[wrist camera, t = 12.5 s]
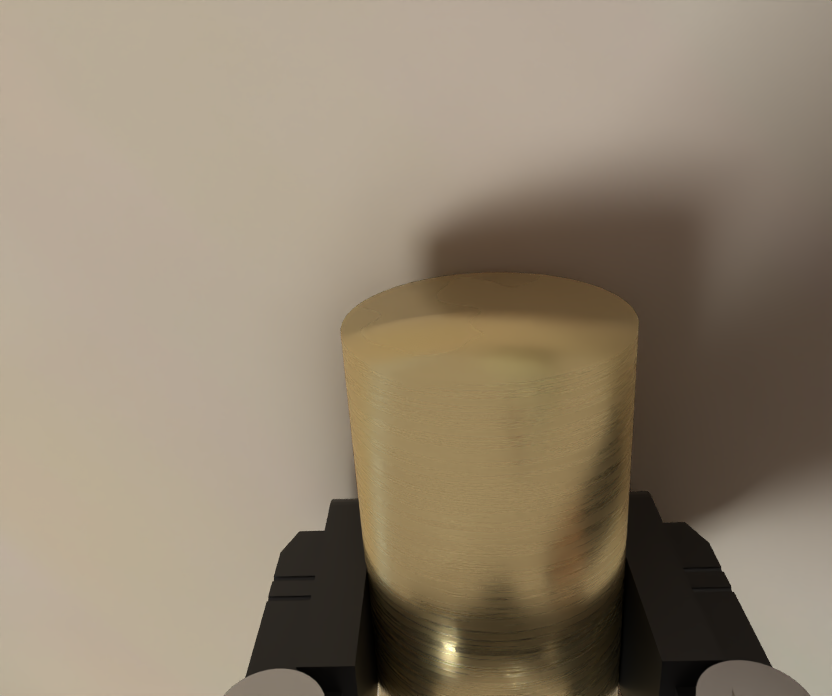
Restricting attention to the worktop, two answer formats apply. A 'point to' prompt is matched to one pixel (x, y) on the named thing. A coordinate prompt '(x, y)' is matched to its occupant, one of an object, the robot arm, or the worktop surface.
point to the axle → (493, 481)
